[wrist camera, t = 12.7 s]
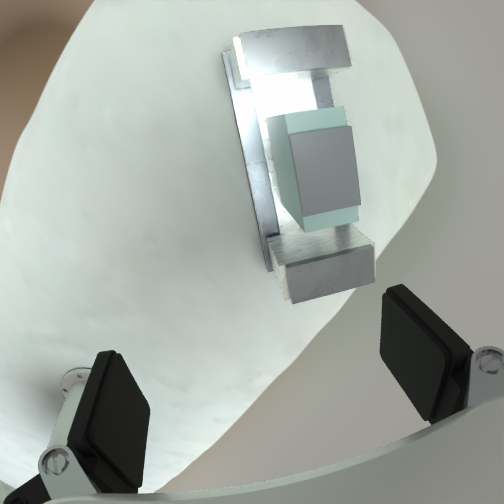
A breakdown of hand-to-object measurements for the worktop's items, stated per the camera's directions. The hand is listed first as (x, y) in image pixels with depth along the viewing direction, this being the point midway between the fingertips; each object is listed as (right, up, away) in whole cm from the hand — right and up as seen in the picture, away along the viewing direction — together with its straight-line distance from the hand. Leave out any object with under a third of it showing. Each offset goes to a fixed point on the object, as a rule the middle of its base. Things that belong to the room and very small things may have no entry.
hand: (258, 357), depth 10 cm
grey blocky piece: (+4, +14, +22) cm, 26 cm away
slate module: (+4, +13, +20) cm, 24 cm away
